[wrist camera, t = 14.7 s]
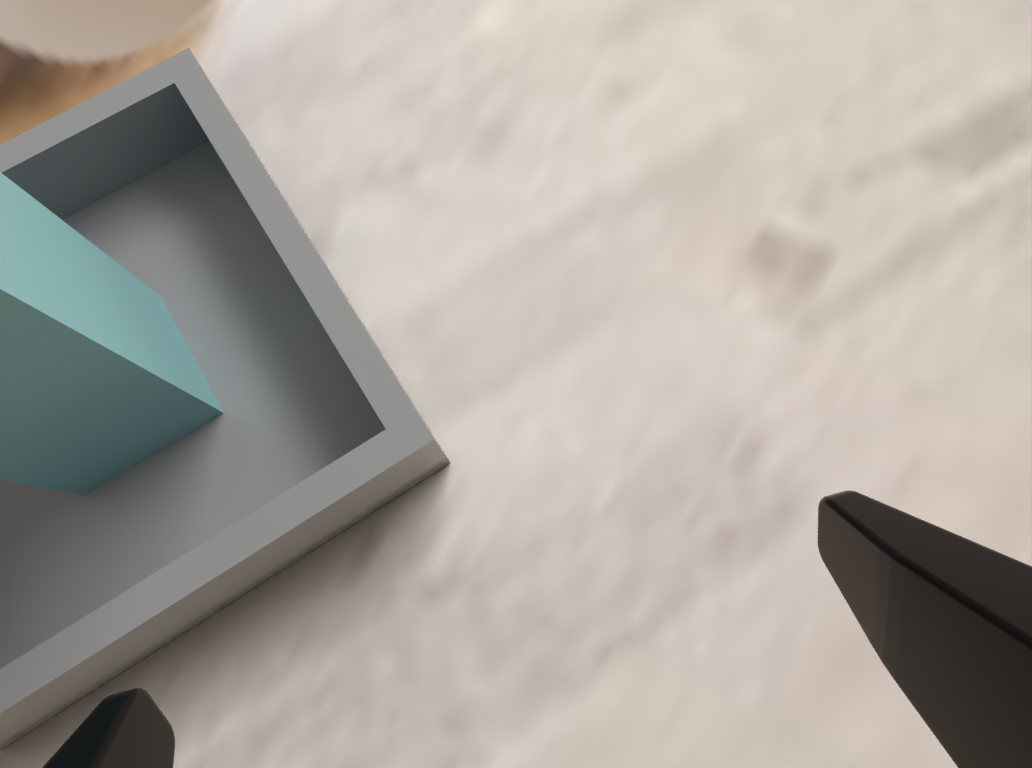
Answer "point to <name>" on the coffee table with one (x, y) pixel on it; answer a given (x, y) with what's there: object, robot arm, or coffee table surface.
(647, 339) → the coffee table surface
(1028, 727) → the robot arm
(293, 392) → the grey crate
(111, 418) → the teal square pillar
